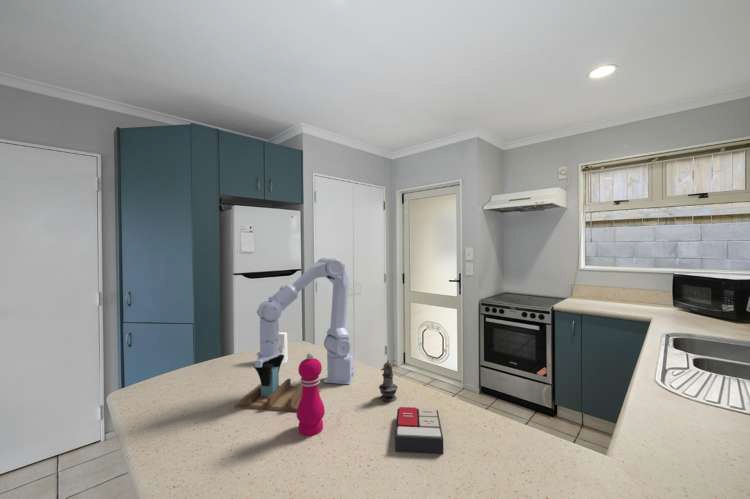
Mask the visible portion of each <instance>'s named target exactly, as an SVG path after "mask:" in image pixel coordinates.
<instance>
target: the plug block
mask: <svg viewBox="0 0 750 499" xmlns="http://www.w3.org/2000/svg"><path fill="white" fill-rule="evenodd" d="M279 374H280V369H279V367H272V370H271V375H270V384H269V386H262V384H261V383H260V384H261V396H266V397H269V396H270V395H271V394H272V393H273V392H274V391H275V390H276V389H277V388H278V387H279V386H280V385H279V384H280V383H279V382H280V381H279V380H280V378H279Z"/></svg>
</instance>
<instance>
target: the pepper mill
mask: <svg viewBox="0 0 750 499" xmlns="http://www.w3.org/2000/svg"><path fill="white" fill-rule="evenodd" d="M322 369H323V368H322V363H321V361H320V360H319V359H317V358H314V353H312V352H307V354H306V358H305V359H303V360H302V361H300V363H299V365H298V375H300V377H301V378H300V386H301V385H302V388H303V390H302V397H301V400H300V402H299V405H298V408H297V412H296V418H297V420H298V421H299V422H298V433H300V434H301V435H303V436H307V437H308V436H309V437H310V436H315V435H318V434H319V433H321V432H322V431H323V429H324V421H323V418H324V416H325V413H326V412H325V410H326V409H325V405H324V401H323V400H322V398H321V395H320V392H319V390H318V388H319V384H320V382H321V376H320V374H321V373H322V371H323V370H322Z"/></svg>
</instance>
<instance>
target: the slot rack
mask: <svg viewBox="0 0 750 499" xmlns="http://www.w3.org/2000/svg"><path fill="white" fill-rule="evenodd" d="M291 384H292V383H291V378H287V379H286V380H285V381H283V383H282V384H280V385H279V387H278V388H277V389H276V390H275V391H274V392H273V393H272V394H271V395H270V396H269V397H266V396H261V383H259V384H258V385H256V386H255V387H254V388H253V389H251V391H249V392H248V393H247V394H245V395H243V397H241V399H239V400H238V401H237V402H235V403H234V407H235V408H241V409H242V408H244V409H257V410H268V411H281V412H282V411H283V412H295V413H297V408H298V405H299V402H300V400H301V397H302V390H303V388H302V385H301V384H300V385H299V386H293V385H291ZM318 390H319V393H320V392H321V387H318Z"/></svg>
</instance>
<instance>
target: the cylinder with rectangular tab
mask: <svg viewBox="0 0 750 499" xmlns="http://www.w3.org/2000/svg"><path fill="white" fill-rule="evenodd" d="M279 346H283V352H282V353H280V355H284V358H283V360H282V363H281V365H282V364H286V363H287V362H288V360H289V359H288V356H289V354H288V352H289V351H288V332H285V331H284V332H282V331H281V332H280V331H279Z"/></svg>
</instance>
